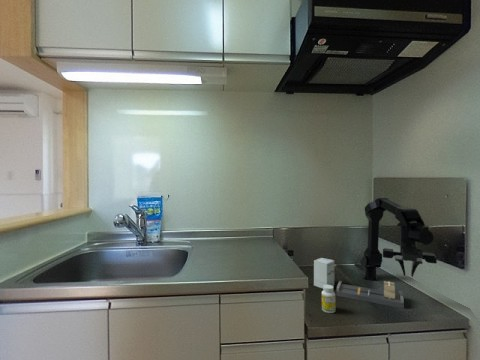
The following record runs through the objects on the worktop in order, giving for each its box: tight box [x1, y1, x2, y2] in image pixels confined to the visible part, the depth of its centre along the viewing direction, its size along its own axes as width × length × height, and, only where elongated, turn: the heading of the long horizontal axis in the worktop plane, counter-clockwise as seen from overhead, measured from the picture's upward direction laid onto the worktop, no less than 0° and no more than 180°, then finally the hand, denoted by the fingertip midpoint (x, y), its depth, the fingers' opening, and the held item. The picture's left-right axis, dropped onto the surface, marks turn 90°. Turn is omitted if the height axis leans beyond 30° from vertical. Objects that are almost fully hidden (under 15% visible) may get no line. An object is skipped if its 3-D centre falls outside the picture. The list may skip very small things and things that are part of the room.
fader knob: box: [383, 280, 396, 299], centre depth 114 cm, size 5×4×5 cm
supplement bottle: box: [321, 285, 336, 314], centre depth 107 cm, size 5×5×10 cm
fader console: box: [335, 280, 405, 309], centre depth 118 cm, size 10×26×4 cm, turn 62°
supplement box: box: [313, 257, 335, 289], centre depth 131 cm, size 7×7×13 cm
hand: (408, 275), depth 111 cm, fingers closed
